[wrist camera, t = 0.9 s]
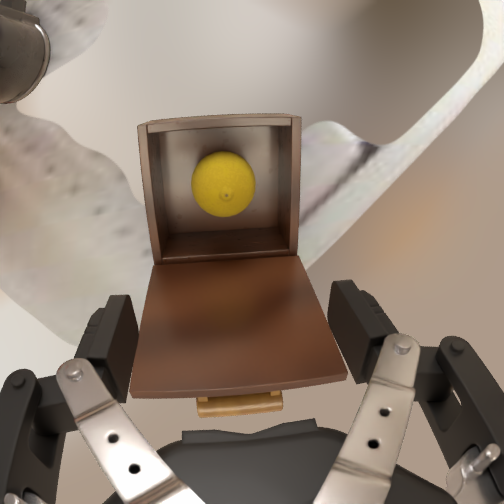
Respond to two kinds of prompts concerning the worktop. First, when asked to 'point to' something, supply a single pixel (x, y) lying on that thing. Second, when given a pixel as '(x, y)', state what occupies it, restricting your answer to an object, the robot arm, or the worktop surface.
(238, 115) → the chest
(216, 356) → the lid
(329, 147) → the worktop surface
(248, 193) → the lemon
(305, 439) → the robot arm
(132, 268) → the worktop surface
